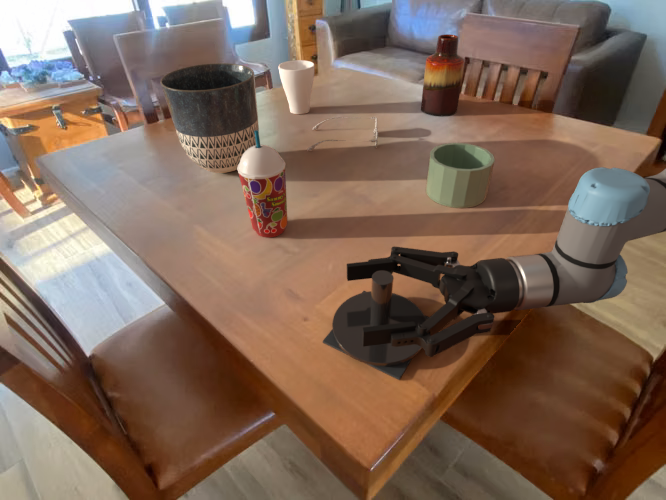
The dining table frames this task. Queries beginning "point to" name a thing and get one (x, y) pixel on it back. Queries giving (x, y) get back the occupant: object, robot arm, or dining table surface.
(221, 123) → the planter
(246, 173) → the smoothie
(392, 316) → the lid
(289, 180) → the dining table surface
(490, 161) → the pot
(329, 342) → the mat
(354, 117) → the eyeglasses
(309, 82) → the cup
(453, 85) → the vase
